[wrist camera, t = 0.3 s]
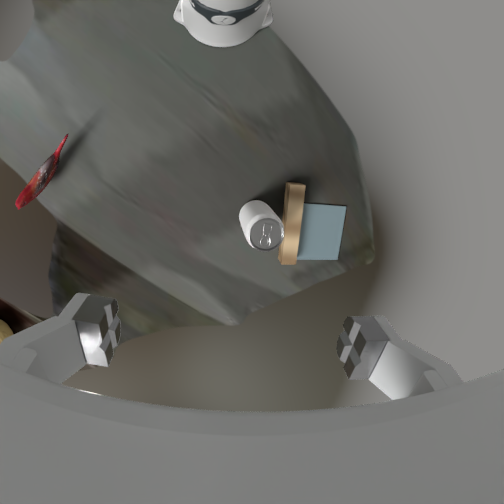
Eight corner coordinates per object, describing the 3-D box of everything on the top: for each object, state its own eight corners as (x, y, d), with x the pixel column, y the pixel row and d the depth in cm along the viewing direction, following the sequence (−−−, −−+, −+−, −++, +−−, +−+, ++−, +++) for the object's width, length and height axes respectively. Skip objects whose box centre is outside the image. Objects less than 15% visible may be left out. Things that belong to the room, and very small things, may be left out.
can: (235, 228, 57) (242, 251, 46) (242, 196, 55) (251, 212, 44) (267, 233, 59) (281, 257, 48) (274, 202, 56) (291, 219, 45)
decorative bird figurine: (33, 196, 48) (8, 208, 38) (77, 128, 45) (53, 128, 36) (41, 204, 49) (16, 217, 40) (86, 137, 46) (63, 138, 37)
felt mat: (301, 203, 57) (301, 203, 57) (345, 206, 59) (346, 206, 58) (294, 258, 62) (294, 259, 61) (336, 258, 63) (337, 259, 63)
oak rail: (286, 182, 55) (290, 184, 52) (300, 183, 56) (305, 185, 53) (278, 258, 61) (281, 264, 58) (291, 258, 61) (295, 264, 59)
